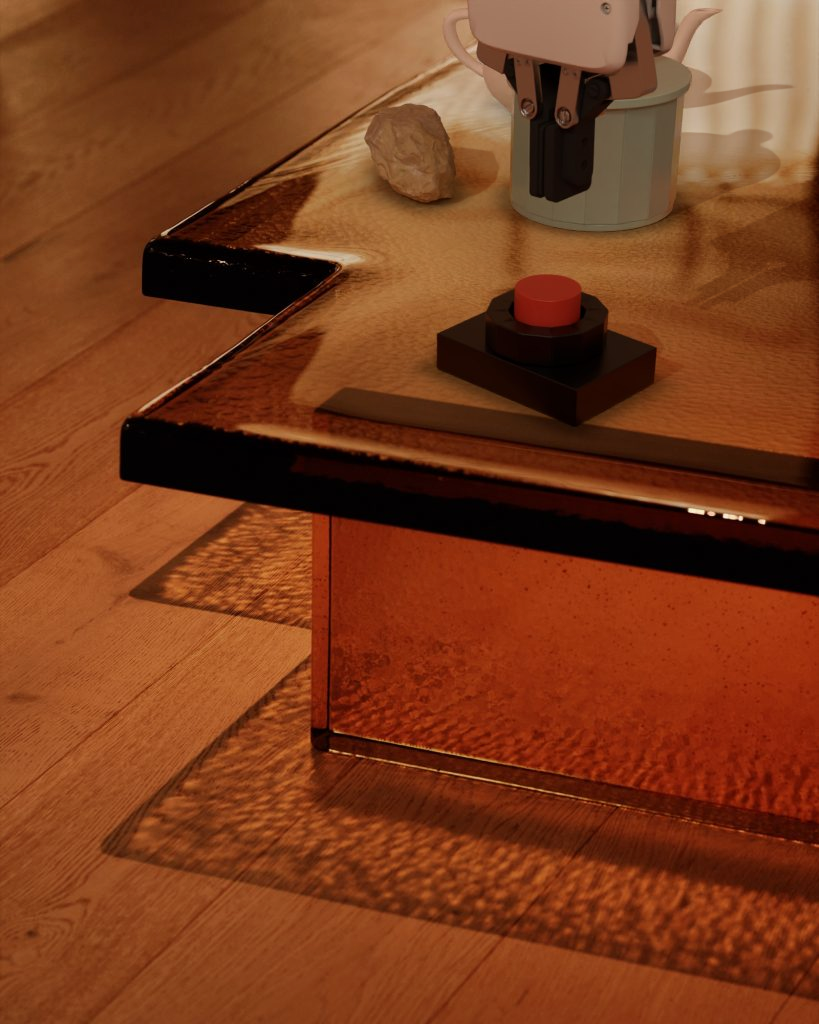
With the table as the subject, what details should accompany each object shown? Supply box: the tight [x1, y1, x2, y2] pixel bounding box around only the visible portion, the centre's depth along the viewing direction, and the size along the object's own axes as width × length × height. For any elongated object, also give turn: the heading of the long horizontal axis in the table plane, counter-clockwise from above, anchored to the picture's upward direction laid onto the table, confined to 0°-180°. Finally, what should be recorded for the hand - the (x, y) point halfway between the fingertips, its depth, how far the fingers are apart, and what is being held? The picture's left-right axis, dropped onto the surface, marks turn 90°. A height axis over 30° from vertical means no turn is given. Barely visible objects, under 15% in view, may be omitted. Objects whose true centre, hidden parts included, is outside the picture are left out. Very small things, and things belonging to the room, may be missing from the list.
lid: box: [506, 55, 693, 109], centre depth 106 cm, size 12×12×7 cm
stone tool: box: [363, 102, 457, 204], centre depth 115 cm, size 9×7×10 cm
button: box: [514, 273, 583, 327], centre depth 87 cm, size 4×4×2 cm
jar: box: [508, 90, 685, 233], centre depth 110 cm, size 11×11×8 cm
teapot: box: [442, 7, 724, 113], centre depth 127 cm, size 22×14×11 cm, turn 78°
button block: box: [436, 288, 658, 427], centre depth 88 cm, size 10×7×4 cm
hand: (560, 192), depth 84 cm, fingers closed
